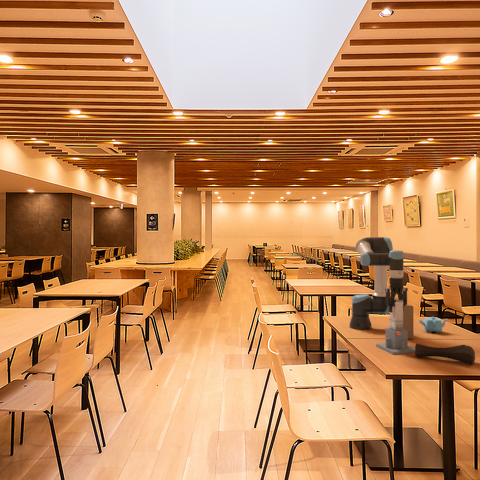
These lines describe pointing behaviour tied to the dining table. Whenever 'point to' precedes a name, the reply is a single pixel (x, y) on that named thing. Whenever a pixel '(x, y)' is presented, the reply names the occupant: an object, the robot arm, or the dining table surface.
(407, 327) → the wooden block
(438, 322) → the teapot
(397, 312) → the column
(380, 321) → the dining table surface
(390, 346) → the stand base
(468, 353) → the dark brown bone
